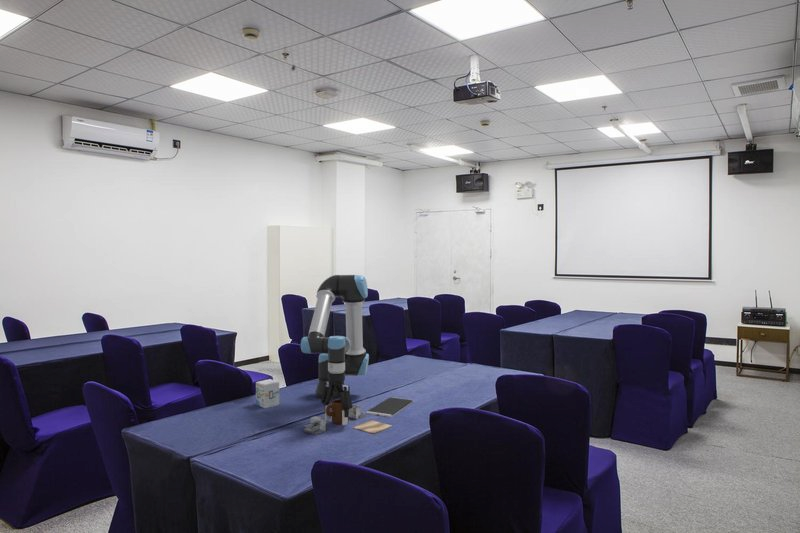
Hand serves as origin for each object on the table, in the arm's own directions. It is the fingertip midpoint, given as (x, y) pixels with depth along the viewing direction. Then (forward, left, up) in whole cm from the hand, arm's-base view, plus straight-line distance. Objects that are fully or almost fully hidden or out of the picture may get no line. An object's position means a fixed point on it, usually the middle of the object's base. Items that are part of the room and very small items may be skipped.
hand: (336, 421), depth 222 cm
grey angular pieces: (0, 0, -1) cm, 1 cm away
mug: (0, 0, -1) cm, 1 cm away
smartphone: (+4, +33, -1) cm, 33 cm away
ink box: (-47, -1, -1) cm, 47 cm away
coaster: (+16, +6, -1) cm, 17 cm away
